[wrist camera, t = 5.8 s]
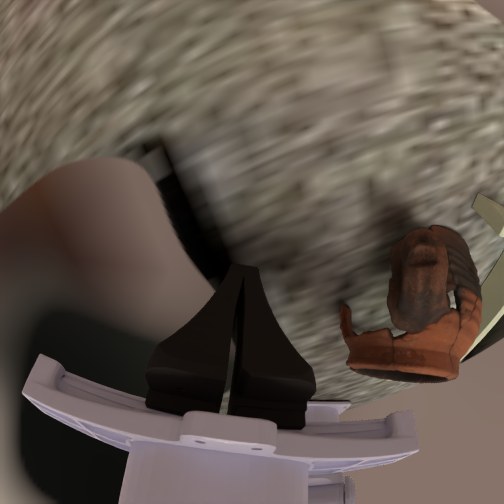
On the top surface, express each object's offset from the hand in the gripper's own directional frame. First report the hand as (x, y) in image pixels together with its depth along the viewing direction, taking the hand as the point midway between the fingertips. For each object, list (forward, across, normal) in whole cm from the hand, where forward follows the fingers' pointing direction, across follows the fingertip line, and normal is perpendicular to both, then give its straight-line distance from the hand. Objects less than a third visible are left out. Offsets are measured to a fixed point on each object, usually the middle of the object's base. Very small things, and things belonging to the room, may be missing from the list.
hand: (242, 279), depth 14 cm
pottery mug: (+2, -10, -1) cm, 10 cm away
